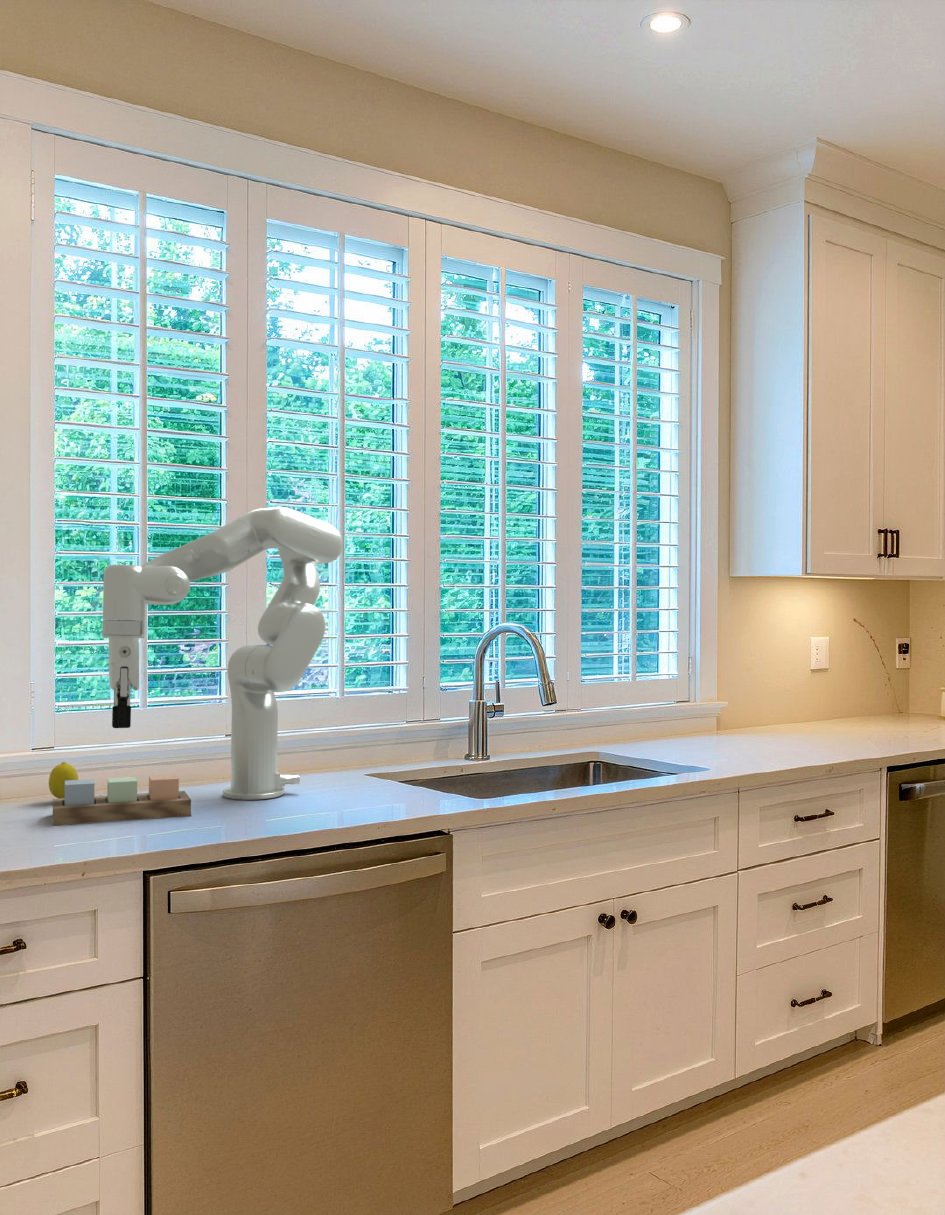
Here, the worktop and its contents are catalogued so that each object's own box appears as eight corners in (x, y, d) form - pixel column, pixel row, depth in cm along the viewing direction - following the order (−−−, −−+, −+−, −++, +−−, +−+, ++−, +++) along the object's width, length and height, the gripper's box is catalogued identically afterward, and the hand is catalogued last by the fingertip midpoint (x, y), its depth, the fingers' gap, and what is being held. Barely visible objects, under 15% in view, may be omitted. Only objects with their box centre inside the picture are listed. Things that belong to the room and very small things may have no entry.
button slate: (93, 805, 186) (93, 779, 186) (94, 810, 181) (94, 783, 181) (64, 807, 184) (64, 780, 184) (64, 812, 179) (65, 785, 179)
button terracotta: (175, 800, 192) (175, 774, 192) (178, 805, 187) (178, 778, 187) (148, 802, 190) (148, 776, 190) (151, 806, 185) (151, 780, 185)
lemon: (69, 798, 202) (69, 759, 202) (83, 801, 199) (83, 761, 199) (43, 801, 198) (43, 762, 198) (57, 805, 194) (57, 764, 194)
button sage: (134, 803, 189) (135, 776, 189) (137, 807, 184) (137, 781, 184) (107, 804, 187) (107, 778, 187) (108, 809, 182) (108, 782, 182)
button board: (184, 806, 195) (184, 790, 195) (190, 815, 186) (191, 799, 186) (52, 814, 185) (52, 798, 185) (52, 825, 176) (53, 808, 176)
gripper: (147, 631, 180) (145, 731, 180) (141, 630, 194) (139, 723, 194) (104, 630, 177) (101, 732, 177) (100, 629, 191) (98, 724, 191)
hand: (121, 727), depth 186 cm, fingers closed
